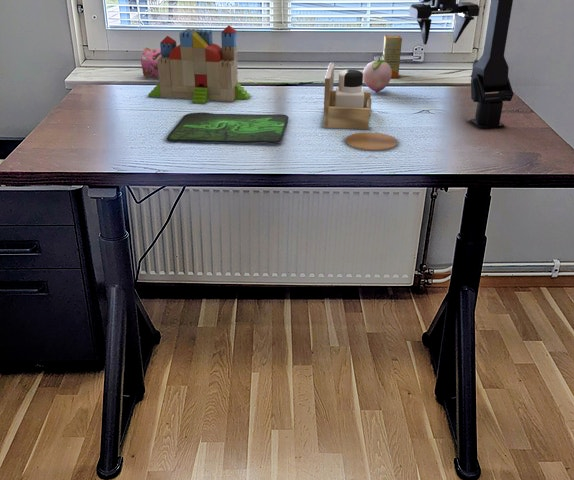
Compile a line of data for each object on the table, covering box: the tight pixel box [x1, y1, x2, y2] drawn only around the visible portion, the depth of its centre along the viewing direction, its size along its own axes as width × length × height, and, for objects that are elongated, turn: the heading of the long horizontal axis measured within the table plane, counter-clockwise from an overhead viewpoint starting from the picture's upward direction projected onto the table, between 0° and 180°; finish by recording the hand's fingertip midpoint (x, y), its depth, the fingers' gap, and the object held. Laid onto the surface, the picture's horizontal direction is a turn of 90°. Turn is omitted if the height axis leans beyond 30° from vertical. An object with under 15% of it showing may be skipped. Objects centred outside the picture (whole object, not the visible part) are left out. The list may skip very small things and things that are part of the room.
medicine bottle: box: [335, 69, 365, 108], centre depth 162 cm, size 7×7×12 cm
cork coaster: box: [345, 132, 398, 152], centre depth 149 cm, size 12×12×1 cm
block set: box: [148, 25, 251, 104], centre depth 177 cm, size 28×14×19 cm, turn 80°
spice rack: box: [322, 62, 372, 130], centre depth 162 cm, size 12×17×12 cm
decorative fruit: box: [362, 56, 392, 93], centre depth 185 cm, size 9×8×10 cm
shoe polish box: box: [382, 34, 403, 79], centre depth 202 cm, size 5×5×12 cm
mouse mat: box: [166, 112, 289, 144], centre depth 156 cm, size 27×22×1 cm
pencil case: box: [140, 47, 162, 79], centre depth 198 cm, size 21×9×9 cm, turn 87°
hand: (439, 43), depth 177 cm, fingers open, 9 cm apart
